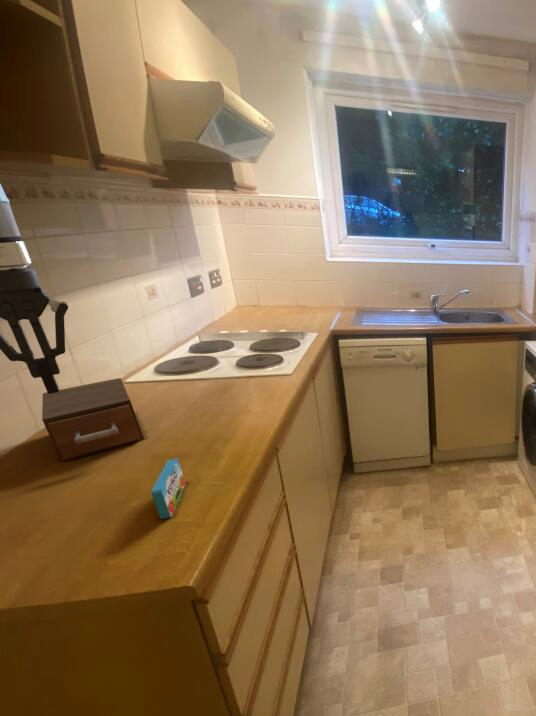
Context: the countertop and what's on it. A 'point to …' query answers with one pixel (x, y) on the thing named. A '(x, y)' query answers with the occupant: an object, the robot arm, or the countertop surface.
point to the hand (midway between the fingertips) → (53, 391)
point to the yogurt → (168, 488)
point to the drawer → (94, 431)
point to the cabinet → (85, 405)
